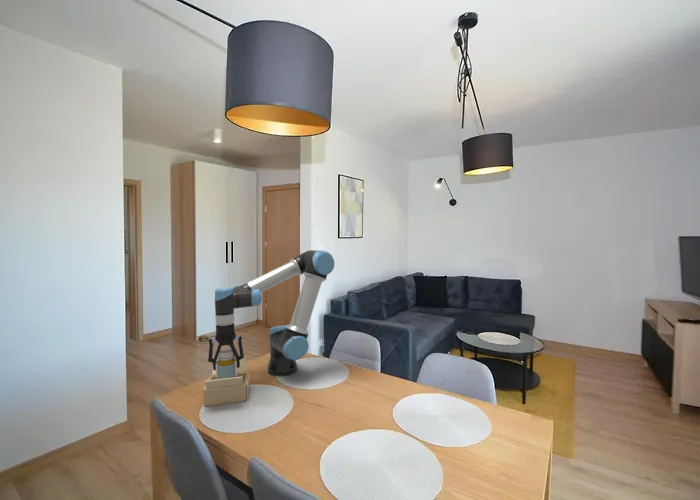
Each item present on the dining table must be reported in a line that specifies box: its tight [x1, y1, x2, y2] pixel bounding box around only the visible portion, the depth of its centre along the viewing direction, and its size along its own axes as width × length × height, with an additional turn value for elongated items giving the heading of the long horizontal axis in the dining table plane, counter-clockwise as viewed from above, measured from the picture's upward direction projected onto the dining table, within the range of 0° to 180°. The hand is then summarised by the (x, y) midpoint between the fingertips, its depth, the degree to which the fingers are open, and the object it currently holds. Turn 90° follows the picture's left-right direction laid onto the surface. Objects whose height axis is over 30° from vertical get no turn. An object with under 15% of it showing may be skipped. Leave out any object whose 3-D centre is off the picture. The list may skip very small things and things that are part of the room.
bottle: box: [217, 348, 236, 388], centre depth 146 cm, size 7×7×15 cm
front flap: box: [203, 377, 243, 389], centre depth 138 cm, size 6×14×1 cm
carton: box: [202, 371, 251, 408], centre depth 147 cm, size 17×14×7 cm
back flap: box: [212, 357, 247, 376], centre depth 155 cm, size 6×14×1 cm
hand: (227, 375), depth 146 cm, fingers closed on bottle, 7 cm apart
